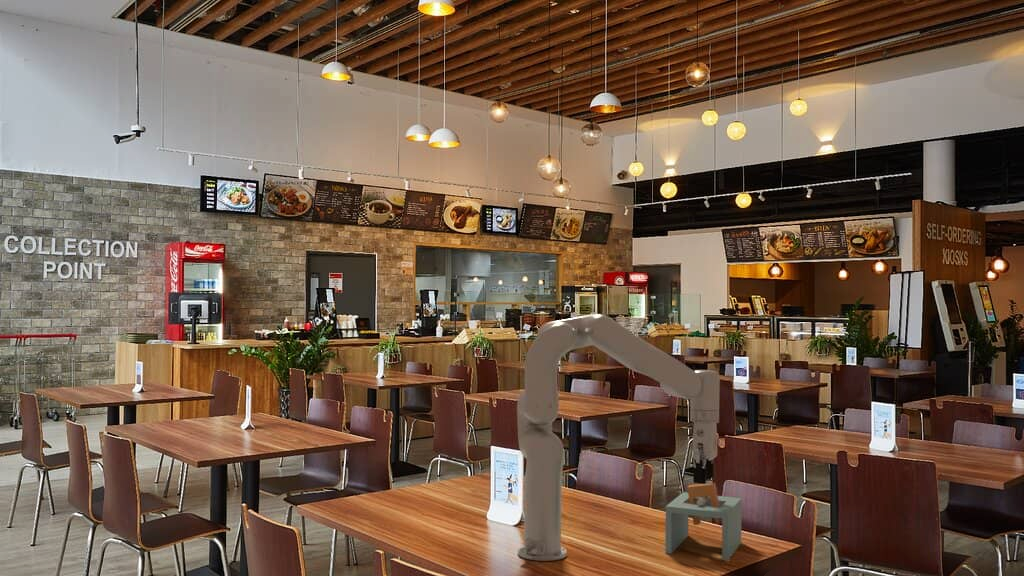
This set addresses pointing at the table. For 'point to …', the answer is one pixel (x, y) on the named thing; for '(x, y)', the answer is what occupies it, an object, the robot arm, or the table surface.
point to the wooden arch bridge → (703, 491)
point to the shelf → (682, 509)
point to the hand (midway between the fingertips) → (703, 480)
